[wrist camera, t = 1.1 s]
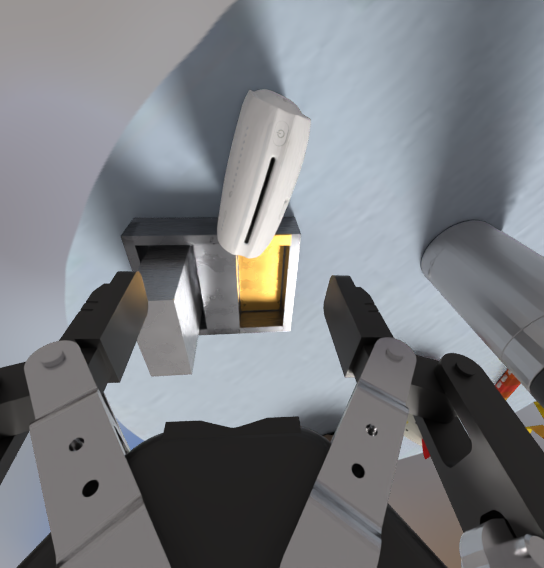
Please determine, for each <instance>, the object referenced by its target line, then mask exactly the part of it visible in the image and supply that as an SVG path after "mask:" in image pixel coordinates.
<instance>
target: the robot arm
mask: <svg viewBox="0 0 544 568" xmlns="http://www.w3.org/2000/svg"><path fill="white" fill-rule="evenodd" d="M421 268H422V272H423V274H424V275H425V277H426V278H427V279H428V280H429V281H430V282H431V283H432V285H433V286H434V287H435V288H436V289H437V290H438V291H439V292H440V293H441V295H442V296H443V297H444V298H445V299H446V300H447V301H448V303H449V304H450V305H451V306H452V307H453V308H454V309H455V310H456V311H457V313H458V314H459V315H460V316H461V317H462V318H463V319H464V320H465V321H466V323H467V324H468V325H469V326H470V327H471V328H472V329H473V330H474V331H475V333H476V334H477V335H478V336H479V337H480V338H481V339H482V340H483V341H484V343H485V344H486V345H487V346H488V347H489V348H490V349H491V350H492V352H493V353H494V354H495V355H496V356H497V357H498V358H499V359H500V360H501V362H502V363H503V364H504V365H505V366H506V367H507V368H508V369H509V370H510V371H511V372H512V374H513V375H514V376H515V377H516V378H517V379H518V380H519V381H520V383H521V384H522V385H523V386H524V387H525V388H526V389H527V390H528V391H529V393H530V394H531V395H532V396H533V397H534V398H535V399H536V401H537V402H538V403H539V404H540V405H541V406H542V407H543V408H544V257H543V256H541V255H540V254H538V253H536V252H535V251H533V250H532V249H530V248H528V247H527V246H525V245H524V244H522V243H520V242H519V241H517V240H515V239H514V238H512V237H511V236H509V235H507V234H506V233H504V232H502V231H500V230H498V229H496V228H495V227H493V226H491V225H490V224H488V223H487V222H484V221H480V220H471V221H466V222H462V223H459V224H456V225H454V226H452V227H450V228H448V229H446V230H445V231H444V232H442V233H441V234H440V235H438V236H437V237H436V238H435V239H434V240H433V241H432V242H431V244H430V245H429V246H428V247H427V249H426V251H425V253H424V255H423V258H422V261H421ZM374 304H375V303H374V302H373V300H372V298H371V296H370V295H369V294H368V293H367V292H366V291H365V290H364V289H362V288H361V287H356V286H355V285H354V283H353V281H352V279H351V277H350V276H339V275H332V276H331V278H330V281H329V285H328V288H327V292H326V296H325V300H324V315H325V319H326V322H327V325H328V328H329V331H330V334H331V337H332V340H333V343H334V346H335V349H336V352H337V355H338V358H339V361H340V364H341V367H342V370H343V373H344V376H345V378H347V377H355V379H356V382H357V384H356V386H355V388H354V391H353V393H352V395H351V398H350V400H349V402H348V404H347V407H346V409H345V411H344V413H343V416H342V418H341V420H340V422H339V425H338V427H337V429H336V431H335V434H334V436H333V438H332V440H331V442H330V441H329V440H328V439H326V438H325V437H323V436H322V435H320V434H319V433H317V432H315V431H313V430H310V429H308V428H305V427H301V426H300V421H299V417H275V418H265V419H262V420H259V421H256V422H253V423H249V424H246V425H243V426H240V427H236V428H230V427H225V426H221V425H217V424H212V423H208V422H204V421H179V422H166V424H165V428H164V433H161V434H158V435H156V436H154V437H151V438H149V439H148V440H146V441H144V442H142V443H141V444H139V445H138V446H136V447H135V448H133V449H132V450H130V448H129V446H128V444H127V442H126V440H125V438H124V436H123V434H122V431H121V429H120V427H119V425H118V422H117V420H116V418H115V416H114V413H113V411H112V409H111V407H110V404H109V402H108V400H107V398H106V396H105V394H104V390H105V388H106V385H107V383H120V381H121V378H122V376H123V373H124V371H125V368H126V366H127V363H128V361H129V358H130V356H131V353H132V351H133V348H134V346H135V343H136V341H137V338H138V336H139V333H140V331H141V328H142V326H143V324H144V321H145V319H146V316H147V313H148V299H147V295H146V291H145V288H144V284H143V280H142V276H141V274H140V272H128V271H119V272H117V273H116V275H115V276H114V278H113V279H112V281H111V282H110V284H103V285H101V286H100V287H99V288H97V289H96V290H95V291H93V292H92V294H91V295H90V297H89V298H88V299H87V301H86V303H85V304H84V305H83V307H82V308H81V311H79V312H78V314H77V315H76V317H75V318H74V320H73V321H72V323H71V324H70V325H69V327H68V328H67V330H66V331H65V333H64V334H63V336H62V337H61V339H60V340H59V341H56V342H53V343H50V344H47V345H45V346H43V347H42V348H40V349H38V350H37V351H35V352H34V353H33V354H32V355H31V356H30V357H29V358H28V360H27V361H26V362H23V363H19V364H15V365H11V366H6V367H2V368H0V485H1V483H2V481H3V479H4V477H5V475H6V473H7V472H8V470H9V468H10V466H11V464H12V462H13V460H14V459H15V456H16V455H17V453H18V451H19V449H20V447H21V446H22V444H23V442H24V440H25V438H26V436H27V434H28V433H29V431H30V435H31V440H32V444H33V449H34V454H35V458H36V463H37V468H38V473H39V478H40V483H41V487H42V492H43V497H44V501H45V506H46V511H47V515H48V521H49V525H50V530H51V532H50V533H49V535H48V536H47V537H46V538H45V539H44V540H43V541H42V542H41V543H40V544H39V545H38V546H37V547H36V548H35V549H34V550H33V551H32V552H31V553H30V554H29V555H28V556H27V557H26V558H25V559H24V560H23V561H22V562H21V563H20V565H19V566H18V567H17V568H447V566H446V565H444V563H443V562H442V561H441V560H440V559H439V558H438V557H437V556H436V555H435V553H434V552H433V551H432V550H431V549H430V548H429V547H428V546H427V545H426V544H425V543H424V542H423V541H422V540H421V538H420V537H419V536H418V535H417V534H416V533H415V532H414V531H413V530H412V529H411V528H410V526H409V525H408V524H407V523H406V522H405V521H404V520H403V519H402V518H401V517H400V516H399V515H398V513H396V511H395V510H394V509H393V508H392V507H391V506H390V505H389V504H388V499H389V495H390V491H391V486H392V482H393V478H394V474H395V469H396V465H397V461H398V457H399V452H400V448H401V444H402V440H403V436H404V431H405V427H406V423H407V419H408V414H412V415H413V417H414V419H415V421H416V424H417V426H418V428H419V431H420V433H421V435H422V437H423V440H424V442H425V444H426V447H427V449H428V451H429V454H430V456H431V458H432V461H433V463H434V465H435V468H436V470H437V472H438V474H439V477H440V479H441V481H442V484H443V486H444V488H445V490H446V493H447V495H448V498H449V500H450V502H451V505H452V507H453V509H454V511H455V514H456V516H457V518H458V521H459V523H460V525H461V527H462V530H463V532H464V534H463V535H462V537H461V540H460V556H461V560H462V561H461V566H462V568H544V452H543V451H542V449H541V448H540V446H539V445H538V444H537V442H536V441H535V440H534V438H533V437H532V436H531V434H530V433H529V432H528V430H527V429H526V427H525V426H524V425H523V423H522V422H521V421H520V419H519V418H518V417H517V415H516V414H515V412H514V411H513V410H512V408H511V407H510V406H509V404H508V403H507V402H506V400H505V399H504V398H503V396H502V395H501V393H500V392H499V391H498V389H497V388H496V387H495V385H494V384H493V383H492V381H491V380H490V379H489V377H488V376H487V374H486V373H485V372H484V370H483V369H482V368H481V367H480V366H479V365H478V364H477V363H475V362H474V361H473V360H471V359H469V358H468V357H465V356H463V355H460V354H456V353H448V354H445V355H444V356H443V357H442V358H441V360H440V361H436V360H433V359H429V358H425V357H421V356H417V355H415V353H414V352H413V350H412V349H411V348H410V347H409V346H408V345H407V344H405V343H404V342H402V341H400V340H398V339H395V338H394V337H393V335H392V334H391V332H390V330H389V328H388V327H387V325H386V323H385V321H384V319H383V318H382V316H381V314H380V312H378V309H377V307H376V305H374ZM457 415H458V416H457ZM458 417H459V418H458ZM459 419H460V420H461V422H462V424H463V425H462V424H461V422H460V420H459ZM463 426H464V427H465V429H466V431H467V432H466V431H465V429H464V427H463ZM467 433H468V434H467ZM468 435H469V436H468ZM469 437H470V438H469ZM470 439H471V440H470Z"/></svg>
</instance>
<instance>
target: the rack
mask: <svg viewBox="0 0 544 568" xmlns="http://www.w3.org/2000/svg"><path fill="white" fill-rule="evenodd" d="M217 225H218V218H133V220H132V221H131V223H130V224H129V225H128V227H127V228H126V229H125V231H124V232H123V234H122V235H121V239H122V242H123V245H124V248H125V251H126V253H127V256H128V259H129V262H130V265H131V268H132V271H133V272H140V274H141V276H142V280H143V284H144V288H145V291H146V295H147V299H148V313H147V316H146V319H145V321H144V324H143V326H142V328H141V331H140V333H139V336H138V338H137V343H138V345H139V348H140V350H141V352H142V355H143V357H144V360H145V362H146V365H147V367H148V370H149V372H150V375H151V376H169V375H187V374H192V371H193V365H194V359H195V353H196V347H197V340H198V335H215V334H238V333H261V332H283V331H290V329H291V320H292V311H293V302H294V293H295V284H296V275H297V266H298V257H299V248H300V239H301V233H300V230H299V227H298V225H297V222H296V219H295V217H283V218H282V220H281V222H280V224H279V227H278V229H277V231H276V233H275V235H274V237H273V239H272V241H271V243H270V244H269V245H268V246H267V248H266V249H265V250H264V252H263V253H262V254H261V255H260V256H258V257H255V258H246V257H244V256H241V255H233V254H231V253H229V252H228V251H226V250H225V249H224V248H223V247H222V246H221V245H220V243H219V241H218V237H217Z"/></svg>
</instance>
